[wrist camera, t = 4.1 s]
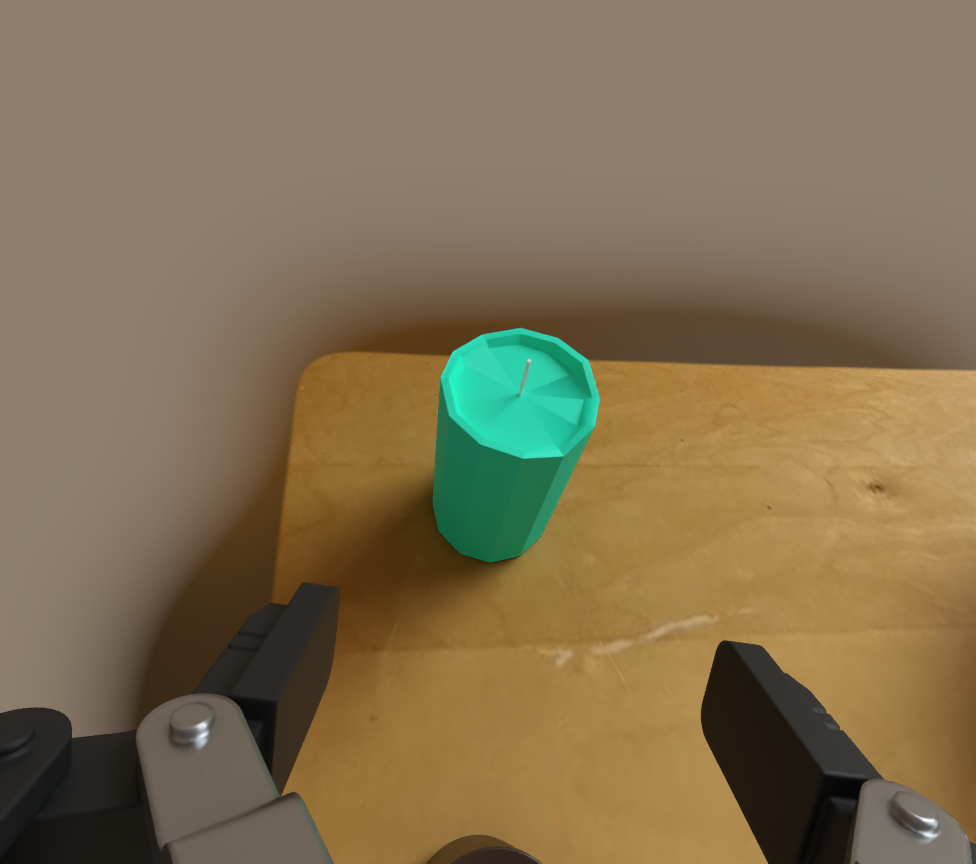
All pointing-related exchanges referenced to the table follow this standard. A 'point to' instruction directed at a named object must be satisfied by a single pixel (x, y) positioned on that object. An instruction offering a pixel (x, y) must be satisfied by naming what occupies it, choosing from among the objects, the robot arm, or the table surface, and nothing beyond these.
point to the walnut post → (481, 852)
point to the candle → (508, 439)
